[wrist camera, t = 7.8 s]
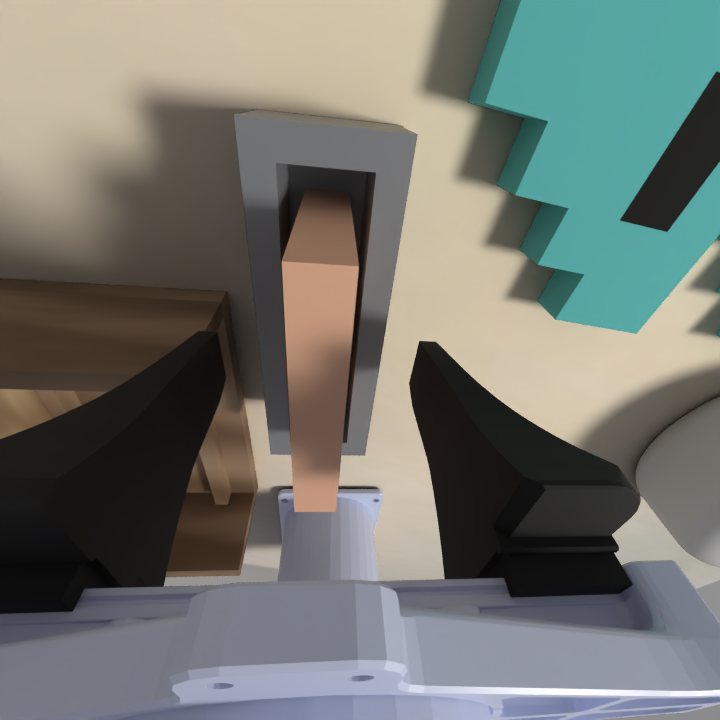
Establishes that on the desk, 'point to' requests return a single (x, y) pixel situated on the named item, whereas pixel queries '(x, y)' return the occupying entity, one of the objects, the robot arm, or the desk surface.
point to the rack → (119, 364)
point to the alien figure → (610, 145)
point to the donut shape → (687, 481)
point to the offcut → (20, 411)
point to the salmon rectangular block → (319, 341)
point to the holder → (275, 223)
